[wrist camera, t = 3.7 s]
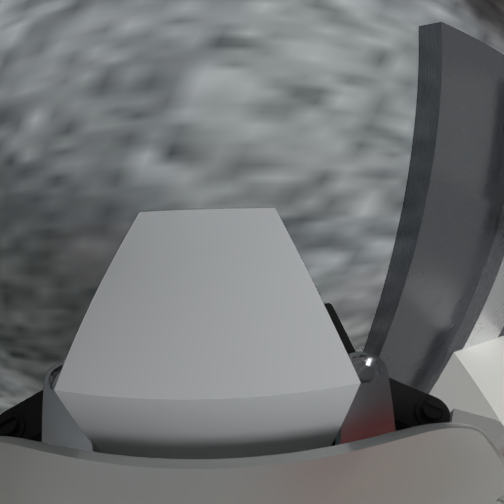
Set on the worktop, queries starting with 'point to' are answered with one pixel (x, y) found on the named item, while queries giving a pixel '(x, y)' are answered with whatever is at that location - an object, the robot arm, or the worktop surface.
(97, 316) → the block
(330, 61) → the worktop surface
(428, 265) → the board
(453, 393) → the mounted modules
